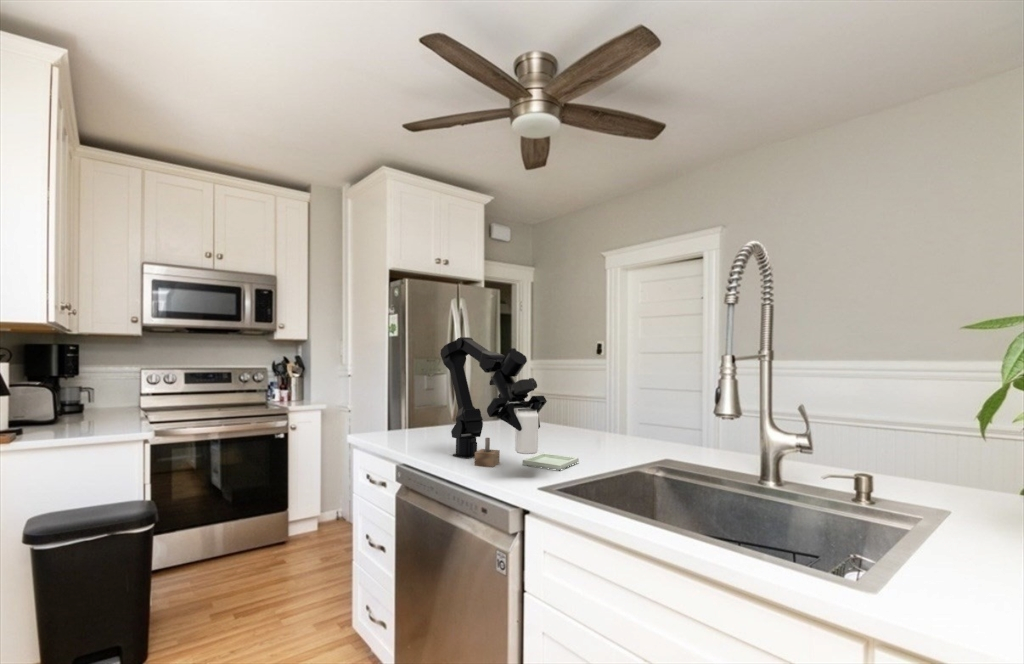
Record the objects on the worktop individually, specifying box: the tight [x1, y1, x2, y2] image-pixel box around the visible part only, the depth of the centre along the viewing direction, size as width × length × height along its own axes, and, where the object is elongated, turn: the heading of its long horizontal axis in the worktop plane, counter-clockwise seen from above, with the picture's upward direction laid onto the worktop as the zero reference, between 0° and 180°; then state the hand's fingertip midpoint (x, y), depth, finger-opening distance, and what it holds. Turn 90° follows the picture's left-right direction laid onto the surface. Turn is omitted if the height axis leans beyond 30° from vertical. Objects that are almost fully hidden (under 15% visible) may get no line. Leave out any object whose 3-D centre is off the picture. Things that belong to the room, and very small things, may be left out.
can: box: [514, 408, 539, 455], centre depth 139 cm, size 6×6×12 cm
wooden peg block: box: [474, 437, 501, 468], centre depth 152 cm, size 6×6×8 cm
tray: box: [522, 452, 580, 471], centre depth 153 cm, size 13×13×2 cm
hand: (530, 429), depth 138 cm, fingers closed on can, 6 cm apart
